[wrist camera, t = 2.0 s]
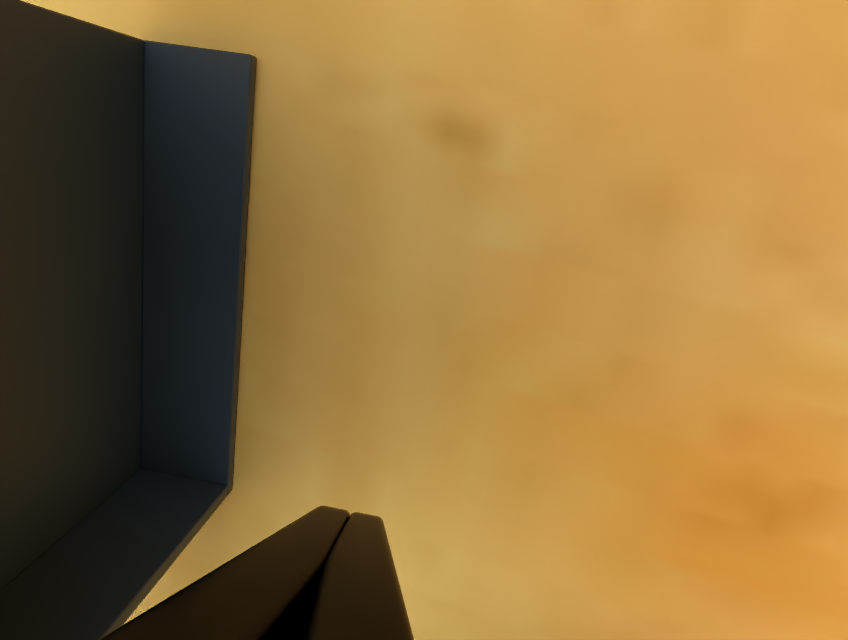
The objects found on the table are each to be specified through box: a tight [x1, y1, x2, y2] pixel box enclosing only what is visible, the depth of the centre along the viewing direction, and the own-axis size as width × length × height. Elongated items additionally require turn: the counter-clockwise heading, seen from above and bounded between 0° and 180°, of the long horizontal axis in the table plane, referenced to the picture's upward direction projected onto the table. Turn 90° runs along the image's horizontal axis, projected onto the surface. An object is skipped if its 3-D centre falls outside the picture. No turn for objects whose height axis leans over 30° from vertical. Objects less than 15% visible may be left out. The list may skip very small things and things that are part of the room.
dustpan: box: [0, 0, 256, 640], centre depth 14 cm, size 3×20×11 cm, turn 172°
